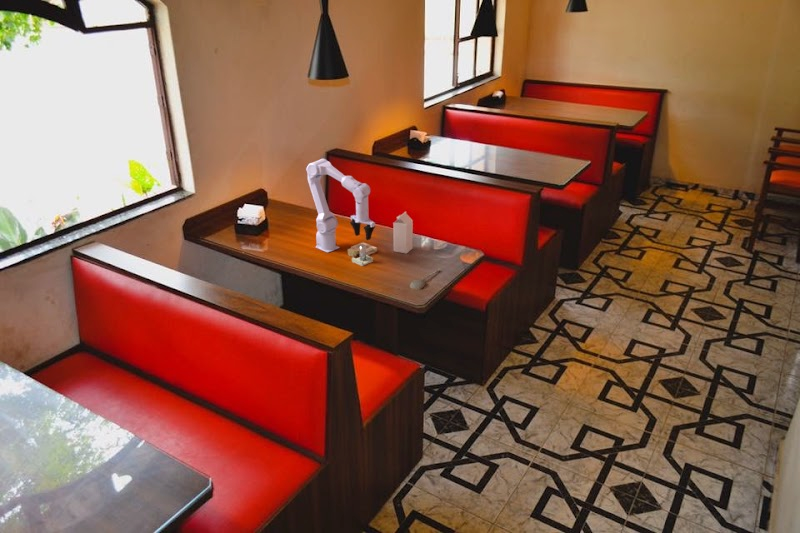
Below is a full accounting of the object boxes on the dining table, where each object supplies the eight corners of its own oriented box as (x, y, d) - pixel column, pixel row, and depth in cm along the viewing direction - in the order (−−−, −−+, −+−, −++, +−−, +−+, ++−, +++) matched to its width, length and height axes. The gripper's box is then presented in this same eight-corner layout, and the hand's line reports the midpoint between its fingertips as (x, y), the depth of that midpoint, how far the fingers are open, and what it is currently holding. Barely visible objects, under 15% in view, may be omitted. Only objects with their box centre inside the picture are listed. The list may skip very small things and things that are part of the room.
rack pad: (351, 261, 296) (351, 257, 295) (362, 257, 301) (362, 253, 300) (362, 266, 292) (362, 262, 291) (372, 261, 296) (372, 257, 296)
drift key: (347, 255, 303) (347, 249, 302) (357, 251, 307) (357, 245, 306) (353, 257, 301) (353, 251, 299) (363, 253, 305) (363, 247, 303)
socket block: (351, 250, 308) (351, 246, 307) (363, 245, 313) (362, 242, 312) (365, 256, 302) (365, 252, 301) (377, 251, 307) (377, 247, 306)
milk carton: (412, 248, 310) (412, 212, 302) (406, 254, 304) (406, 217, 296) (399, 246, 313) (399, 210, 305) (393, 251, 307) (393, 215, 299)
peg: (358, 260, 296) (357, 246, 293) (362, 257, 298) (362, 244, 295) (363, 261, 294) (363, 248, 291) (367, 259, 297) (367, 245, 294)
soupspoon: (406, 289, 273) (418, 294, 270) (406, 282, 272) (419, 287, 268) (433, 269, 289) (445, 274, 286) (434, 263, 287) (446, 267, 284)
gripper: (345, 208, 293) (346, 235, 299) (366, 216, 284) (367, 243, 290) (356, 204, 298) (357, 231, 303) (377, 212, 288) (378, 239, 294)
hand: (363, 237), depth 297 cm, fingers open, 7 cm apart
